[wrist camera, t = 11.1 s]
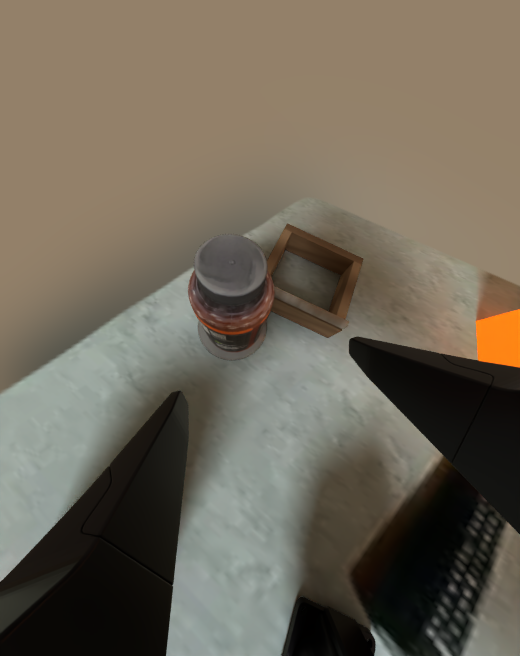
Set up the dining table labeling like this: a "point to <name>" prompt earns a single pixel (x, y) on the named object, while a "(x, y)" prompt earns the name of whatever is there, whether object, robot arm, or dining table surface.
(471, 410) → the robot arm
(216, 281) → the supplement bottle
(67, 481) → the dining table surface
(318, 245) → the holder
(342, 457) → the dining table surface
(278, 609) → the dining table surface
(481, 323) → the orange juice
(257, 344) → the coaster
